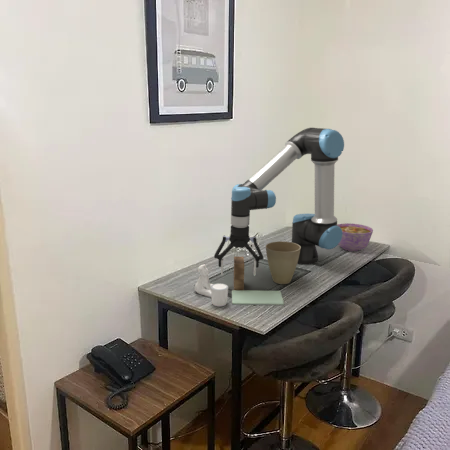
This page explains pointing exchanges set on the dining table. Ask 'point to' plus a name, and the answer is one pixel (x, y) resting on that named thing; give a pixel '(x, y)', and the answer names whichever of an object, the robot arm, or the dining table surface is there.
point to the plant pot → (282, 260)
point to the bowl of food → (354, 236)
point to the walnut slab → (238, 273)
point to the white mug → (219, 294)
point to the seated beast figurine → (203, 281)
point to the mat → (257, 297)
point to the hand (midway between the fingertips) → (238, 274)
